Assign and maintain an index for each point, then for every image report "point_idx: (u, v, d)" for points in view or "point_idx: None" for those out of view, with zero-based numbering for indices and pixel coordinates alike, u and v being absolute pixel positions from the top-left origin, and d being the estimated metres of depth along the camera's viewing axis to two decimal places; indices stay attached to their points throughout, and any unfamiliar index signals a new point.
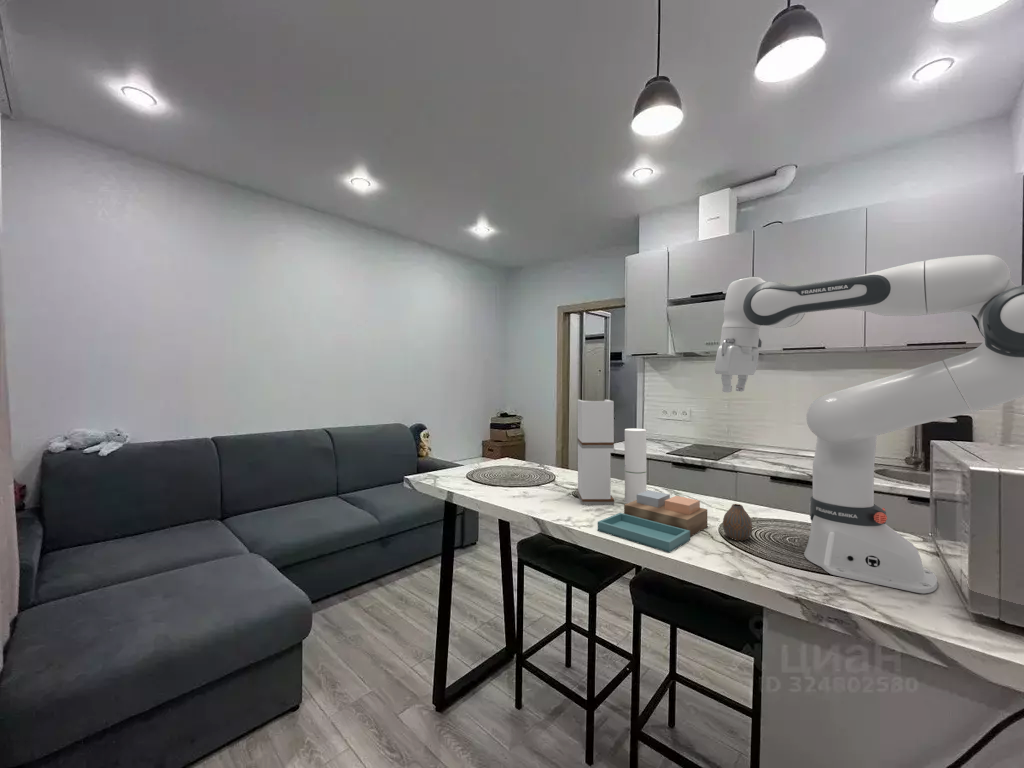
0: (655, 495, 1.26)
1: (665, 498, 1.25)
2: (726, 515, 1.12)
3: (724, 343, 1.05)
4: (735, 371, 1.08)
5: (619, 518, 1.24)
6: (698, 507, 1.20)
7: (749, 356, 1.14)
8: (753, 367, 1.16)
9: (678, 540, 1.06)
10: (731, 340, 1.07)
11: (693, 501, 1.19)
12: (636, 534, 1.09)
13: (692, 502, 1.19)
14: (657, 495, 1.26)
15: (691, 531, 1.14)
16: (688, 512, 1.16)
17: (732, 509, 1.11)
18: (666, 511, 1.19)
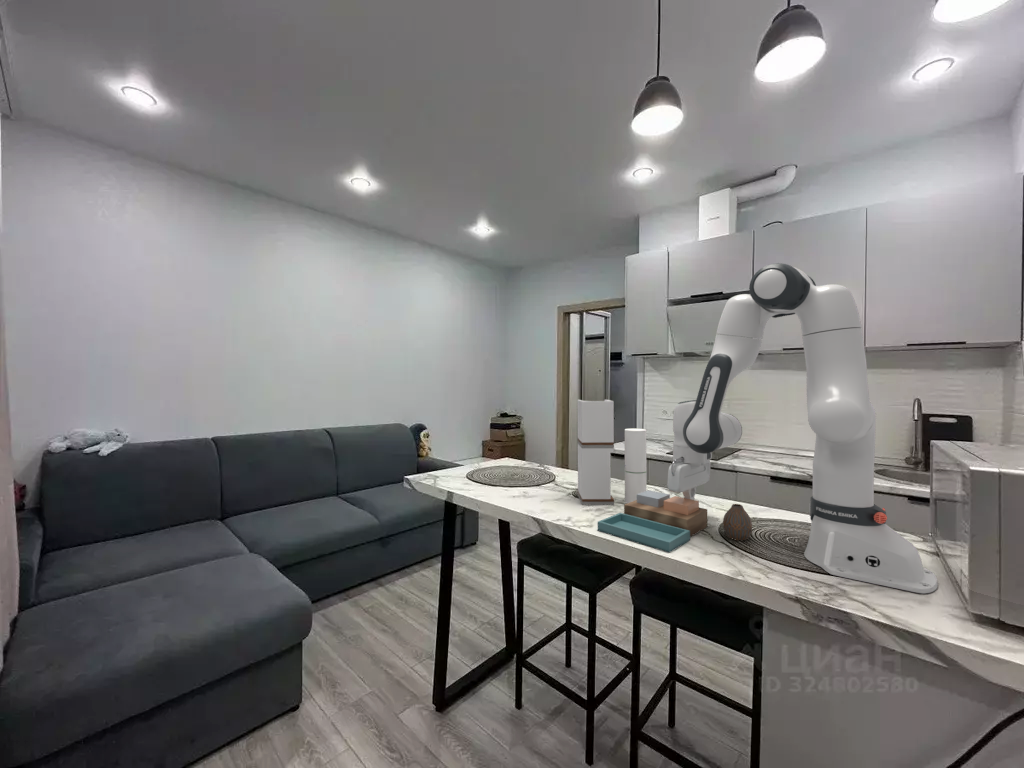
0: (655, 495, 1.26)
1: (665, 498, 1.25)
2: (726, 515, 1.12)
3: (673, 465, 1.17)
4: (686, 487, 1.19)
5: (619, 518, 1.24)
6: (697, 507, 1.20)
7: (701, 467, 1.26)
8: (706, 476, 1.27)
9: (678, 540, 1.06)
10: (680, 460, 1.19)
11: (692, 502, 1.19)
12: (636, 534, 1.09)
13: (691, 502, 1.18)
14: (657, 495, 1.26)
15: (691, 531, 1.14)
16: (687, 512, 1.16)
17: (732, 509, 1.11)
18: (666, 511, 1.19)
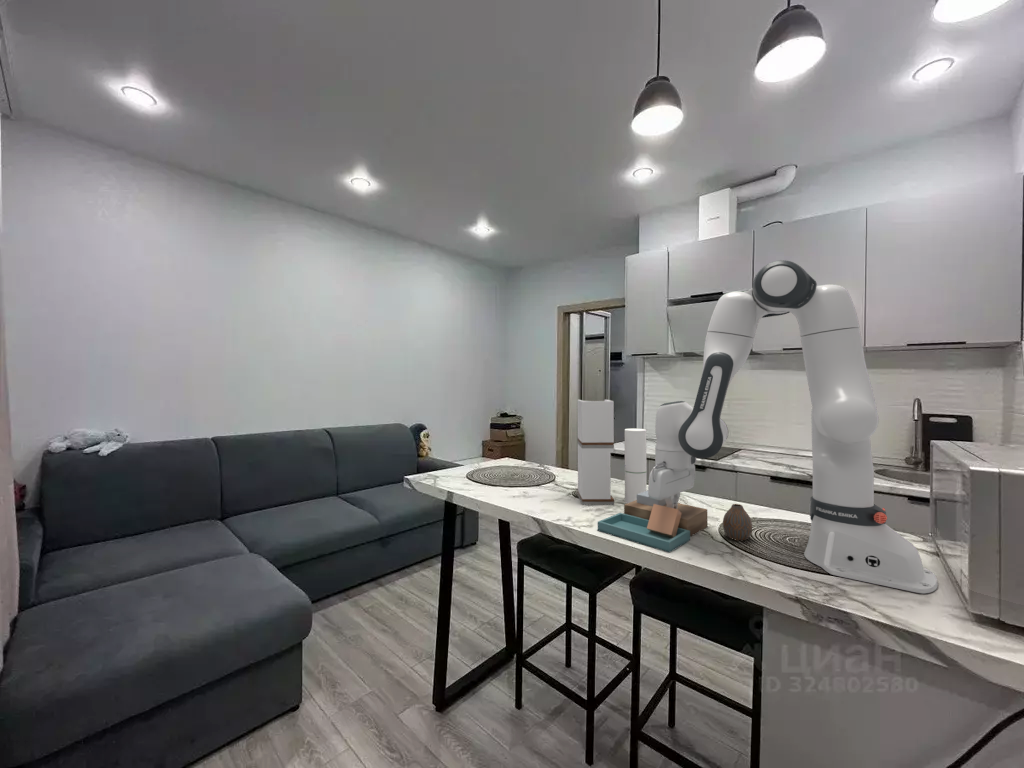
0: None
1: None
2: (726, 515, 1.12)
3: (654, 470, 1.10)
4: (668, 494, 1.11)
5: (619, 518, 1.24)
6: (680, 514, 1.13)
7: (685, 472, 1.19)
8: (690, 481, 1.20)
9: (678, 540, 1.06)
10: (662, 464, 1.12)
11: (673, 518, 1.11)
12: (636, 534, 1.09)
13: (672, 521, 1.11)
14: None
15: (691, 531, 1.14)
16: (673, 536, 1.11)
17: (732, 509, 1.11)
18: None
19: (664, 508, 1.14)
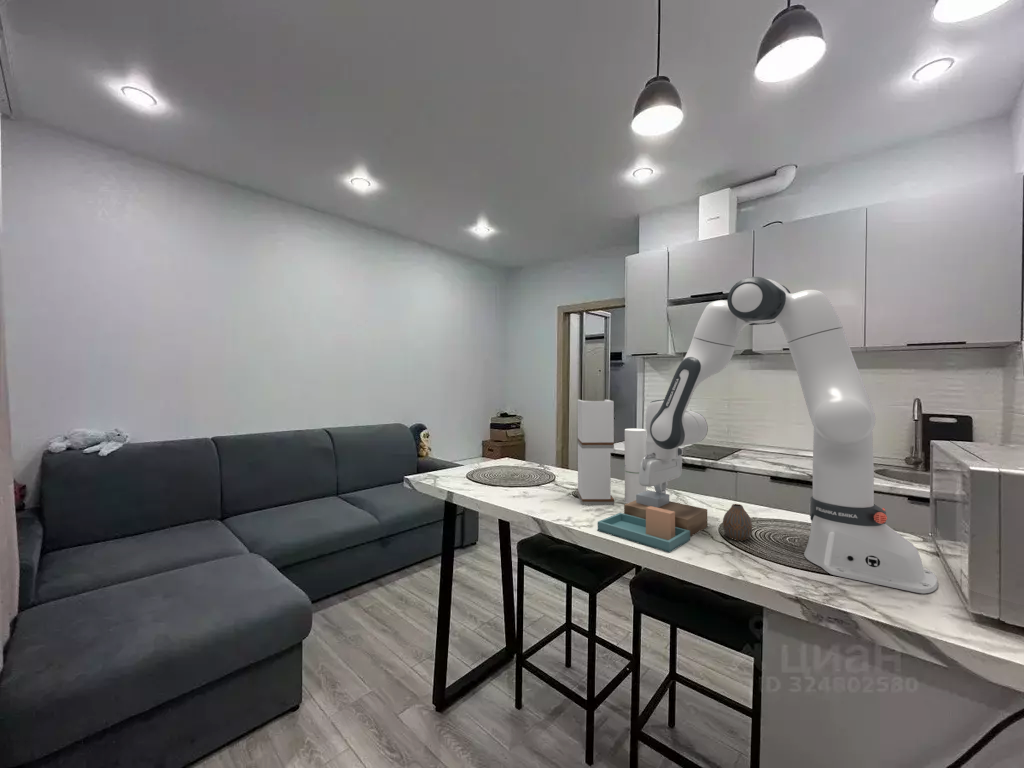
0: (655, 495, 1.26)
1: (665, 498, 1.25)
2: (726, 515, 1.12)
3: (644, 460, 1.23)
4: (657, 482, 1.25)
5: (619, 518, 1.24)
6: (673, 515, 1.10)
7: (672, 463, 1.32)
8: (677, 471, 1.34)
9: (678, 540, 1.06)
10: (651, 455, 1.26)
11: (668, 523, 1.09)
12: (636, 534, 1.09)
13: (668, 526, 1.09)
14: (657, 495, 1.26)
15: (691, 531, 1.14)
16: None
17: (732, 509, 1.11)
18: None
19: (657, 512, 1.12)
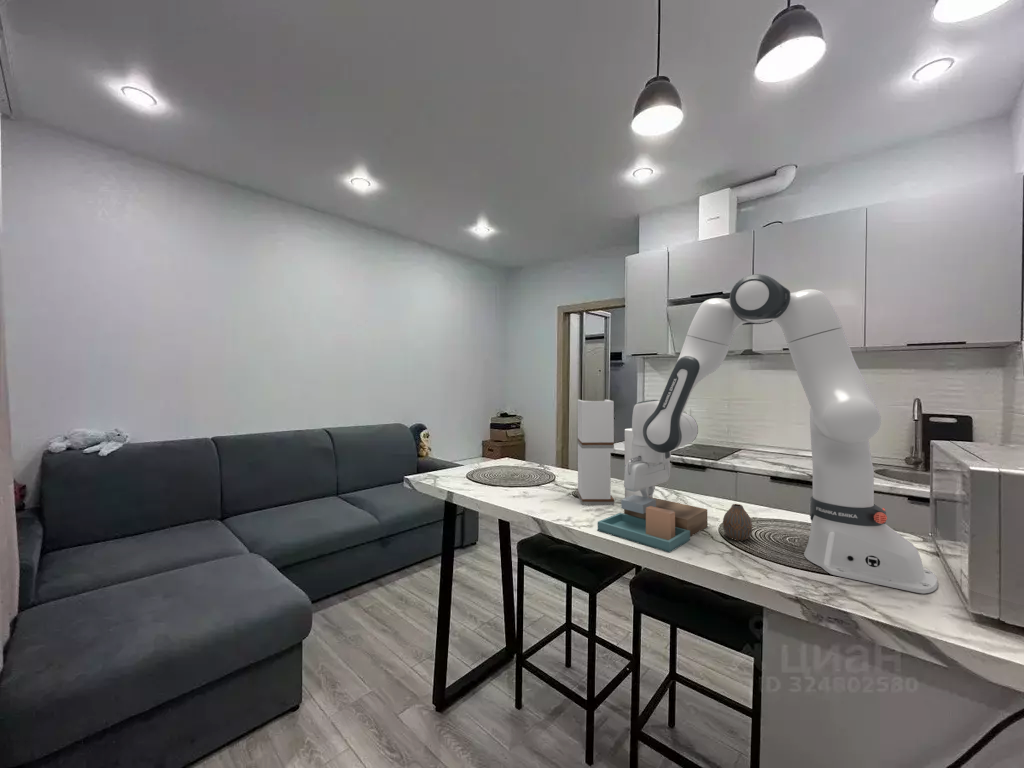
0: (640, 500, 1.21)
1: (651, 503, 1.20)
2: (726, 515, 1.12)
3: (629, 464, 1.18)
4: (642, 486, 1.20)
5: (619, 518, 1.24)
6: (673, 515, 1.10)
7: (659, 466, 1.27)
8: (665, 475, 1.29)
9: (678, 540, 1.06)
10: (637, 459, 1.20)
11: (668, 523, 1.09)
12: (636, 534, 1.09)
13: (668, 526, 1.09)
14: (642, 500, 1.21)
15: (691, 531, 1.14)
16: None
17: (732, 509, 1.11)
18: None
19: (657, 512, 1.12)
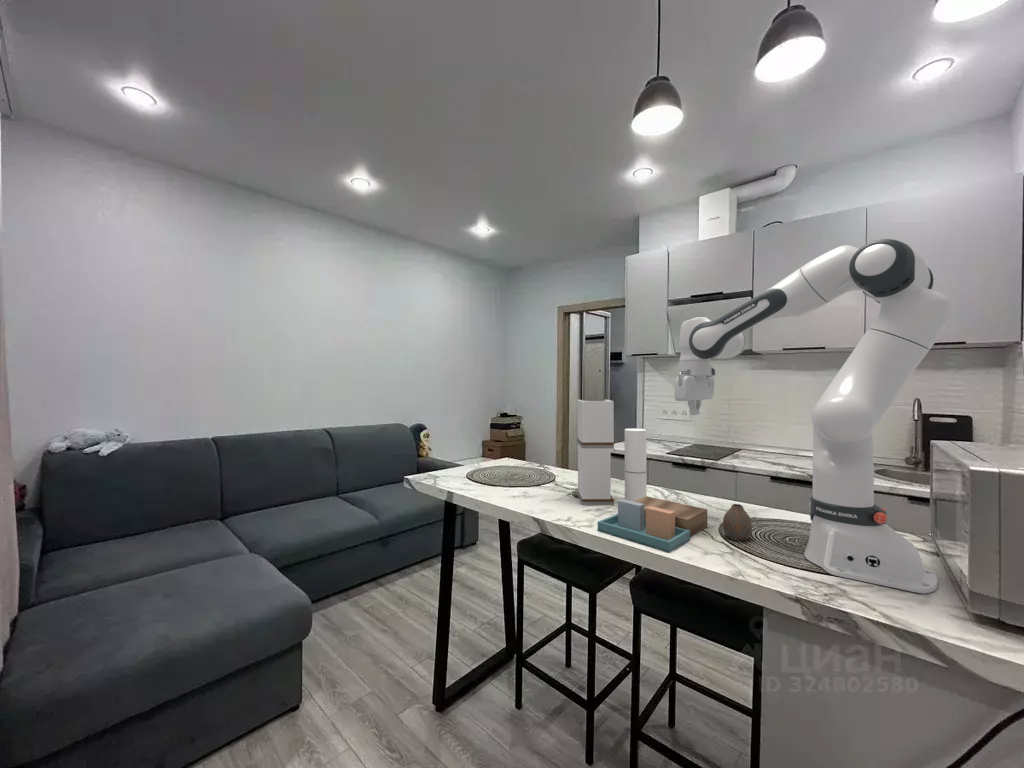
0: (631, 518, 1.18)
1: (641, 515, 1.16)
2: (726, 515, 1.12)
3: (680, 375, 1.24)
4: (692, 397, 1.26)
5: None
6: (673, 515, 1.10)
7: (705, 383, 1.33)
8: (710, 392, 1.35)
9: (678, 540, 1.06)
10: (686, 371, 1.26)
11: (668, 523, 1.09)
12: (636, 534, 1.09)
13: (668, 526, 1.09)
14: (633, 517, 1.17)
15: (691, 531, 1.14)
16: None
17: (732, 509, 1.11)
18: None
19: (657, 512, 1.12)
